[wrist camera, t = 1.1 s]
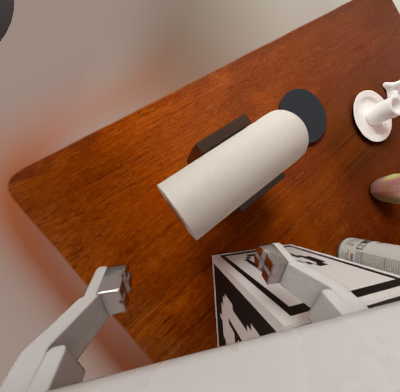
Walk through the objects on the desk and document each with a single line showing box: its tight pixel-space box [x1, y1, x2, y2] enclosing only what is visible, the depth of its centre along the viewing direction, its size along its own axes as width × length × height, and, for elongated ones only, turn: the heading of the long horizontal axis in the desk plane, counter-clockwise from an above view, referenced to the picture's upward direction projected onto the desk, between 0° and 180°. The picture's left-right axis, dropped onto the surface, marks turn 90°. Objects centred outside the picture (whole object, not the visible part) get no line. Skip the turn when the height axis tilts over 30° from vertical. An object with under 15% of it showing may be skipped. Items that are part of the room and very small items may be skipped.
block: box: [212, 244, 400, 347], centre depth 18 cm, size 15×15×15 cm
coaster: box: [279, 89, 326, 144], centre depth 31 cm, size 11×11×1 cm
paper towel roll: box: [157, 110, 309, 240], centre depth 17 cm, size 6×15×6 cm, turn 126°
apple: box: [370, 174, 400, 204], centre depth 31 cm, size 6×8×6 cm
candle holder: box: [353, 90, 400, 142], centre depth 33 cm, size 12×12×4 cm
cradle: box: [187, 114, 285, 212], centre depth 23 cm, size 10×8×7 cm
